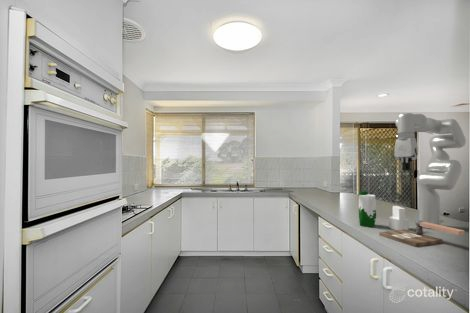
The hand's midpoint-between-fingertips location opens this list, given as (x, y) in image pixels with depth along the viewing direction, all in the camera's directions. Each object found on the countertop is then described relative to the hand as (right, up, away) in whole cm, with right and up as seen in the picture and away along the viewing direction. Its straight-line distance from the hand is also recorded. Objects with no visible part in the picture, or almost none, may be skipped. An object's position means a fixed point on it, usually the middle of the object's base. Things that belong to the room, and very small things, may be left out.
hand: (406, 170), depth 132 cm
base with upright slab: (0, -34, +6) cm, 34 cm away
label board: (-7, -33, -13) cm, 36 cm away
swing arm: (+2, -27, -18) cm, 32 cm away
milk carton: (-14, -34, +12) cm, 38 cm away
